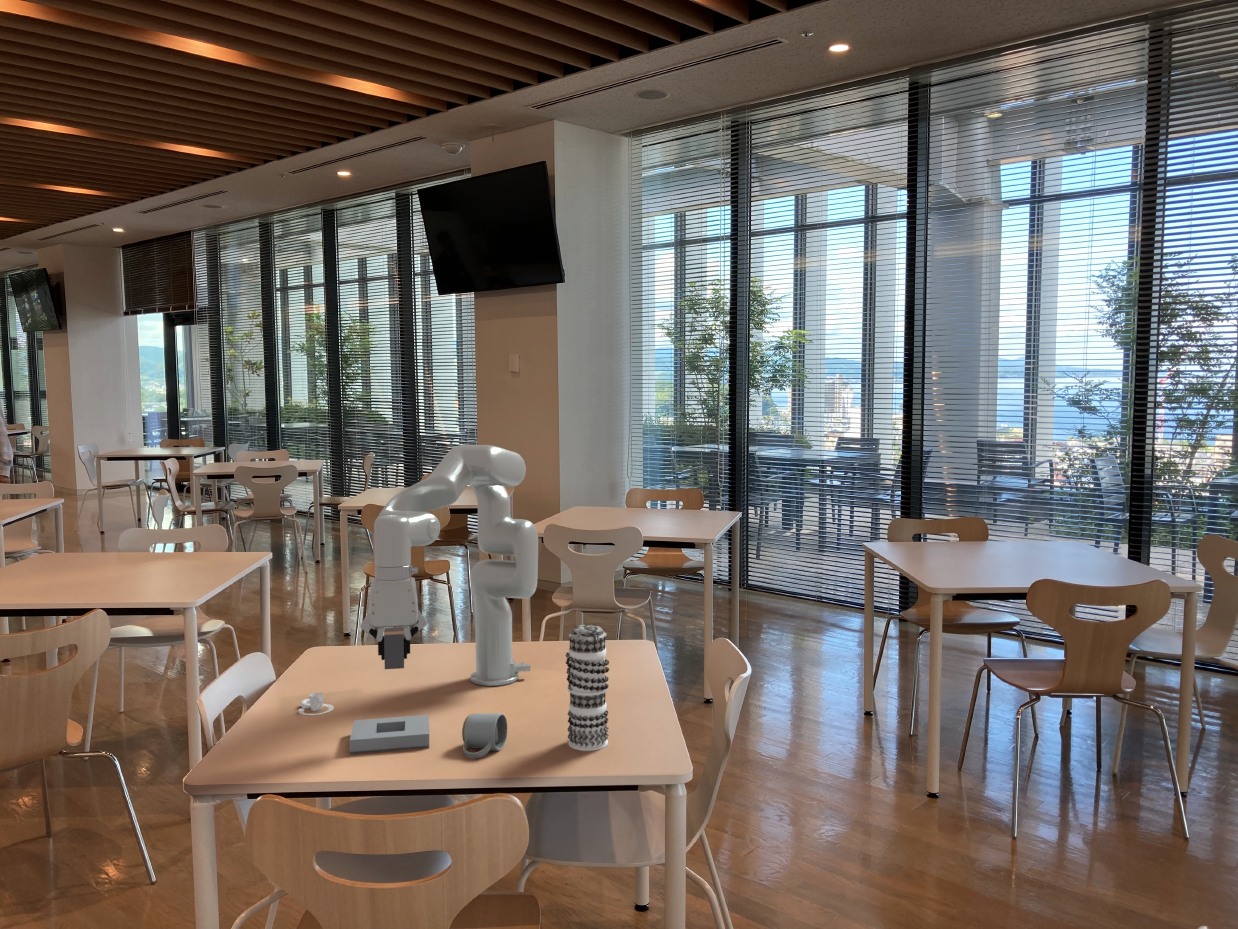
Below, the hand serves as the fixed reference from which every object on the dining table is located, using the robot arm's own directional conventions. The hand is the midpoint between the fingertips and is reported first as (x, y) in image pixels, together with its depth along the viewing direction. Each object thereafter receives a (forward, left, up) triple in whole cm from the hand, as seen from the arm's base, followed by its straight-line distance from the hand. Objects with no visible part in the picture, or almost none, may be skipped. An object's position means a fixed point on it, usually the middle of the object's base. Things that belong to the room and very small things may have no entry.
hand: (394, 657), depth 193 cm
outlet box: (+1, +1, -18) cm, 18 cm away
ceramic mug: (-18, +11, -18) cm, 28 cm away
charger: (0, 0, -2) cm, 2 cm away
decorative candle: (-40, +12, -18) cm, 45 cm away
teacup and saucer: (+18, -26, -19) cm, 37 cm away
